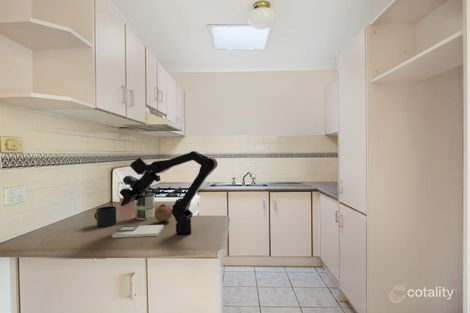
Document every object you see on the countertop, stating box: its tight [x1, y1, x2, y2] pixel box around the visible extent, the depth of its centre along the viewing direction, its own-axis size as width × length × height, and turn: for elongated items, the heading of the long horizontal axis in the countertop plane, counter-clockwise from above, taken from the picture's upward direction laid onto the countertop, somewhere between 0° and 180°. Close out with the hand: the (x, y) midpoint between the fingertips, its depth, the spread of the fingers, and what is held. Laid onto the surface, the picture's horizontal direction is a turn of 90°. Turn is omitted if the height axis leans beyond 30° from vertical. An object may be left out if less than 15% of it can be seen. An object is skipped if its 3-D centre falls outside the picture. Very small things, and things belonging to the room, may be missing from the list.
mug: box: [94, 205, 118, 228], centre depth 138 cm, size 9×12×9 cm
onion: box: [154, 203, 173, 223], centre depth 141 cm, size 10×9×10 cm
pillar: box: [118, 196, 136, 220], centre depth 125 cm, size 5×5×11 cm
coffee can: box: [135, 192, 155, 221], centre depth 152 cm, size 10×10×14 cm
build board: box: [111, 224, 164, 239], centre depth 124 cm, size 20×14×2 cm
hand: (124, 204), depth 125 cm, fingers closed on pillar, 5 cm apart
